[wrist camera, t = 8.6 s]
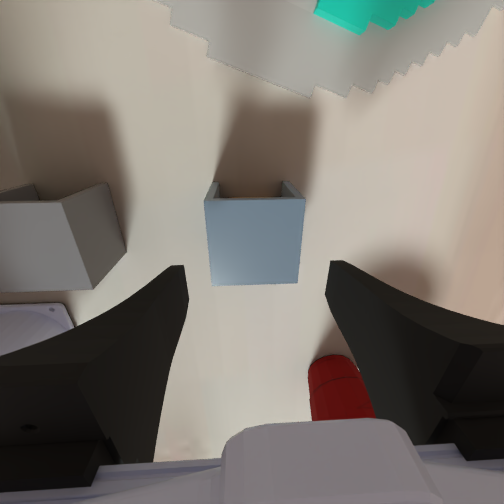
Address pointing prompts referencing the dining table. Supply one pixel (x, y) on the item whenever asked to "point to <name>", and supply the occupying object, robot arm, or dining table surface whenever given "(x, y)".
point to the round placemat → (328, 37)
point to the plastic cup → (337, 390)
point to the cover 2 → (254, 237)
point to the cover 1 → (57, 240)
